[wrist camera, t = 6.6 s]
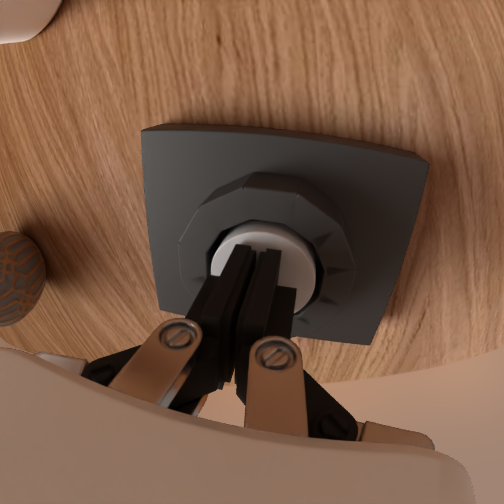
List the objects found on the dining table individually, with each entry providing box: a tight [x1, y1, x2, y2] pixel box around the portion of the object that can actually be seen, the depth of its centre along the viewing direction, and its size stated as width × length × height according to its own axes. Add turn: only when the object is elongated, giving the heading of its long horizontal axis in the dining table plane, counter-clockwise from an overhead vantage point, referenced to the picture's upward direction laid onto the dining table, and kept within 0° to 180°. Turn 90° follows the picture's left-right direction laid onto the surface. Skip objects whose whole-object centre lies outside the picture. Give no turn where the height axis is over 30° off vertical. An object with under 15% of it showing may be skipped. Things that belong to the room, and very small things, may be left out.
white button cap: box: [211, 219, 316, 313], centre depth 12 cm, size 4×4×2 cm
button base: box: [141, 124, 429, 345], centre depth 13 cm, size 12×10×4 cm
